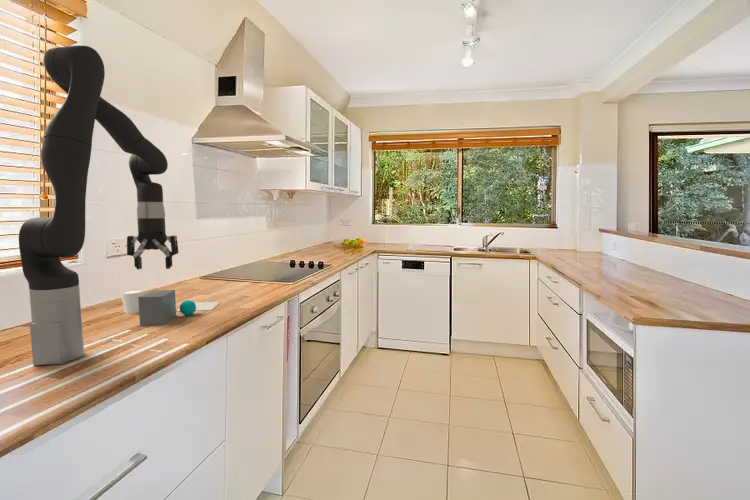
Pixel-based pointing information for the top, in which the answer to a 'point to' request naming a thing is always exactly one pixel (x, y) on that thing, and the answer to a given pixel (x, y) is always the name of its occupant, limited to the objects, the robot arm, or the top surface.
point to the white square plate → (205, 306)
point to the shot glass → (131, 301)
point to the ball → (187, 307)
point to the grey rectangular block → (157, 307)
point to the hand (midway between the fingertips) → (153, 268)
